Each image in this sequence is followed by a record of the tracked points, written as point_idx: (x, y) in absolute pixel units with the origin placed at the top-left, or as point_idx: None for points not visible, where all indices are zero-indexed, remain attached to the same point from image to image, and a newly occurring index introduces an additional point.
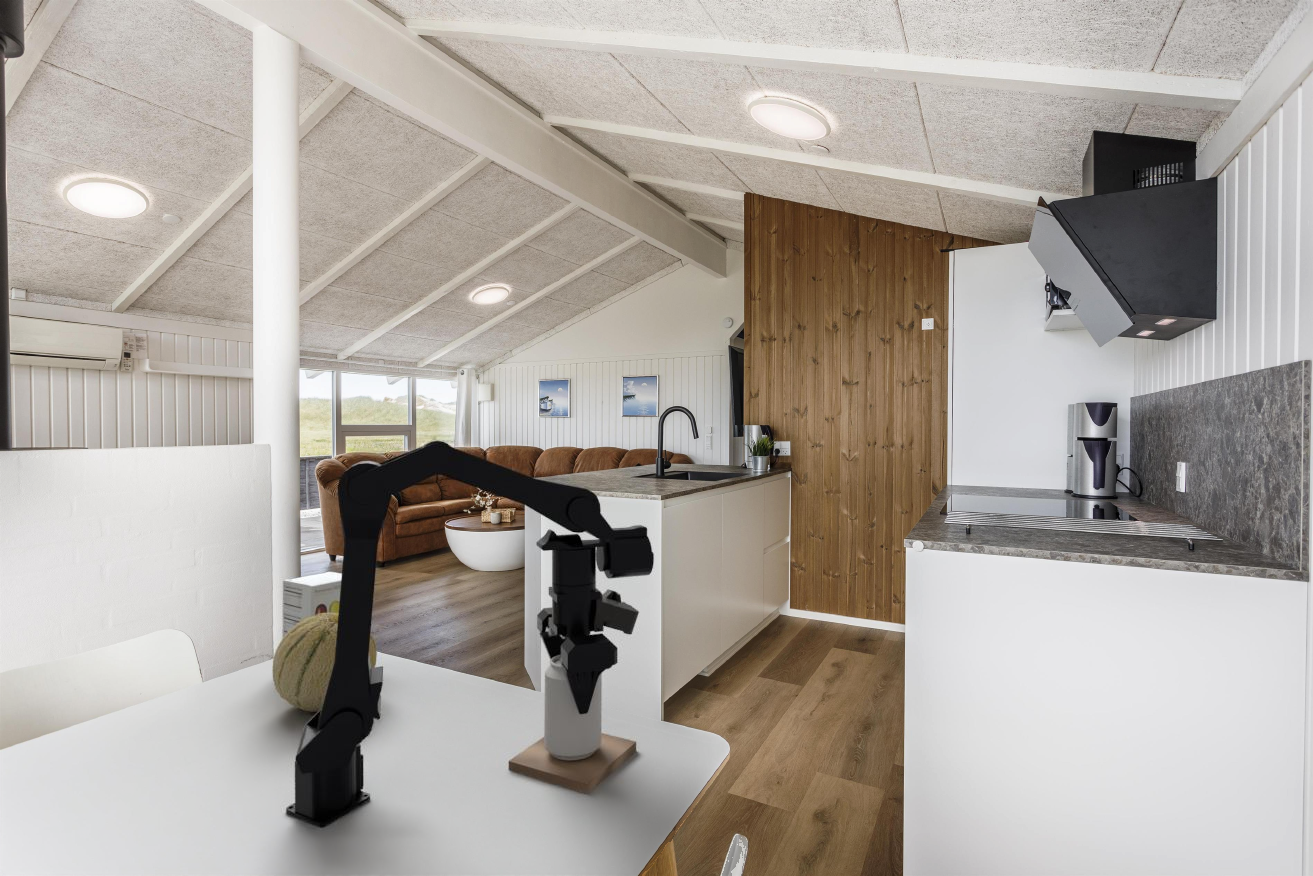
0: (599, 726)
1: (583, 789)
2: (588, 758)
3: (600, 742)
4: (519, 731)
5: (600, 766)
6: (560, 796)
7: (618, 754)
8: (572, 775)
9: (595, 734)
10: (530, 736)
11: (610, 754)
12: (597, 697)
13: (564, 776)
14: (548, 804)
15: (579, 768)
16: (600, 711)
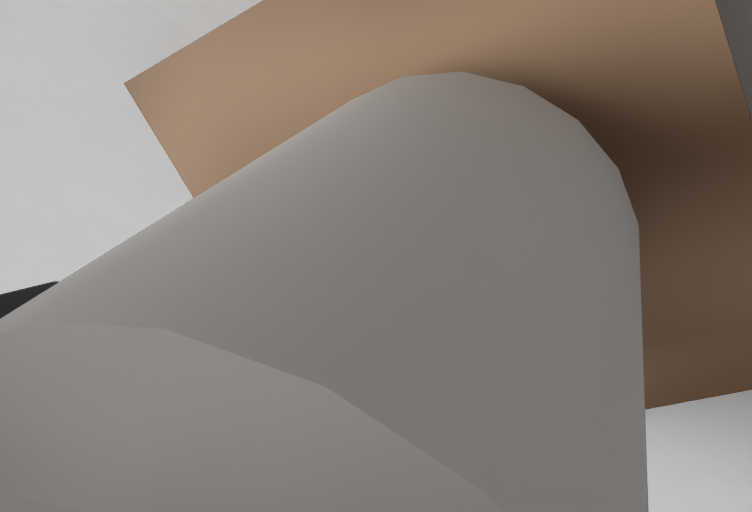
0: (606, 211)
1: None
2: None
3: (593, 144)
4: (69, 236)
5: (732, 216)
6: (717, 425)
7: (703, 32)
8: (683, 371)
9: (634, 253)
10: (132, 225)
11: (658, 78)
12: (620, 398)
13: (661, 402)
14: (729, 486)
15: (652, 310)
16: (581, 235)
